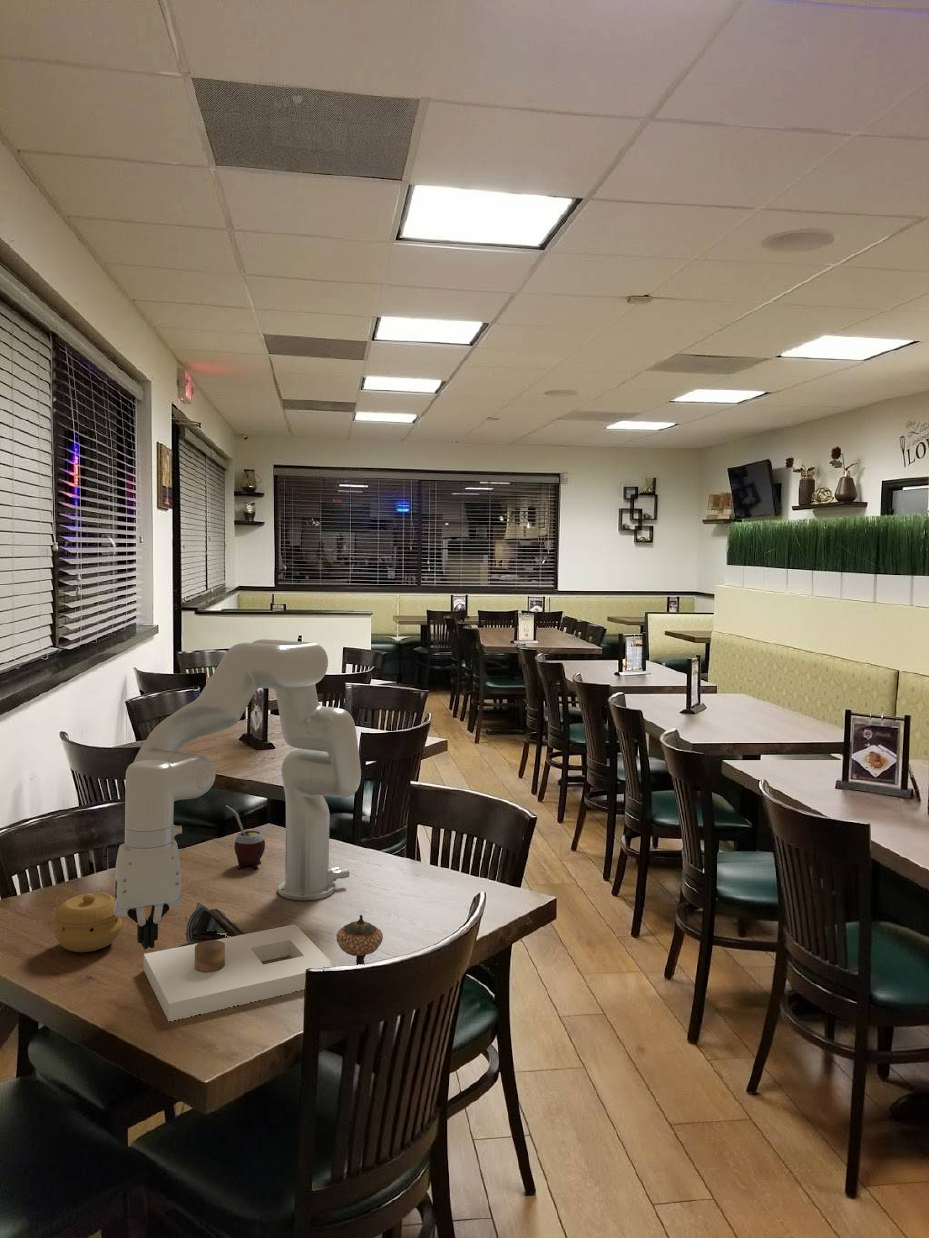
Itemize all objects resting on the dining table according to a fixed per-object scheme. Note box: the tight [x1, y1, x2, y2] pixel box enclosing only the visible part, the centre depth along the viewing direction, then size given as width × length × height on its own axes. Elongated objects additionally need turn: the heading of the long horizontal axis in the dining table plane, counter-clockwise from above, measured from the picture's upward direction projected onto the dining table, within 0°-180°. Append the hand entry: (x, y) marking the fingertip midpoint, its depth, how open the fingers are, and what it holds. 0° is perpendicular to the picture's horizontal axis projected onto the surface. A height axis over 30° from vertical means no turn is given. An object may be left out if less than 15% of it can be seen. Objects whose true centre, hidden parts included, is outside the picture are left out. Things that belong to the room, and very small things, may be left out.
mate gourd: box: [225, 805, 266, 871], centre depth 210 cm, size 8×8×15 cm
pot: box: [53, 892, 123, 953], centre depth 165 cm, size 12×12×10 cm
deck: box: [143, 924, 335, 1022], centre depth 155 cm, size 28×20×3 cm
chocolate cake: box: [185, 902, 245, 945], centre depth 171 cm, size 10×7×12 cm
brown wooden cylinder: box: [195, 940, 225, 973], centre depth 152 cm, size 5×5×4 cm
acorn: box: [335, 914, 384, 966], centre depth 159 cm, size 8×8×10 cm
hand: (147, 945), depth 146 cm, fingers closed
